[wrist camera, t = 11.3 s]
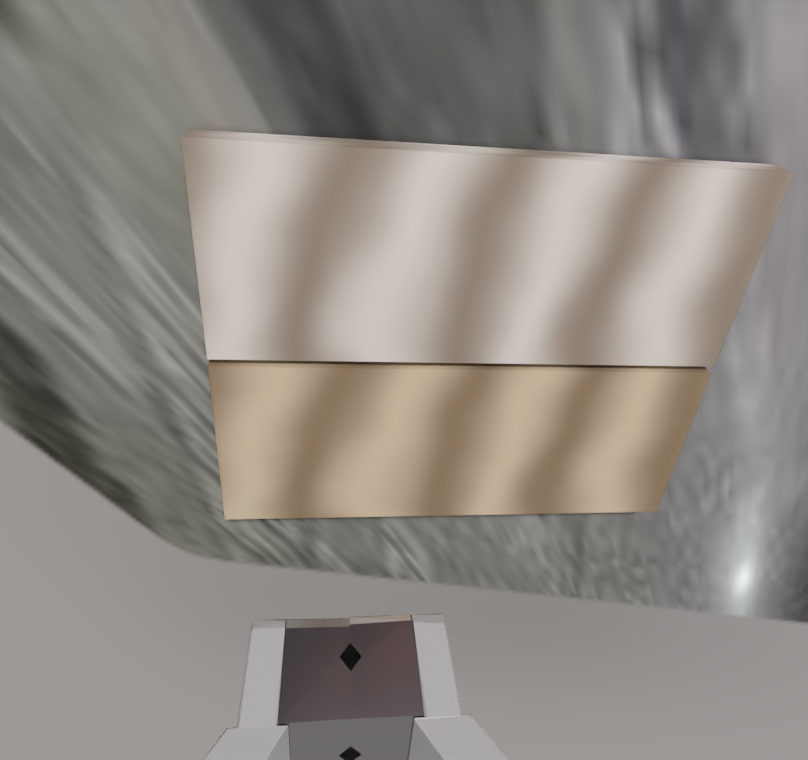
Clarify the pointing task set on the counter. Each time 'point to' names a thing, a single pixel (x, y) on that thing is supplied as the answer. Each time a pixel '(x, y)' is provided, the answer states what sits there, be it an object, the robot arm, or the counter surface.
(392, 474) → the laid oak row
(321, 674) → the robot arm
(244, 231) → the whitewashed plank
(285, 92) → the counter surface
